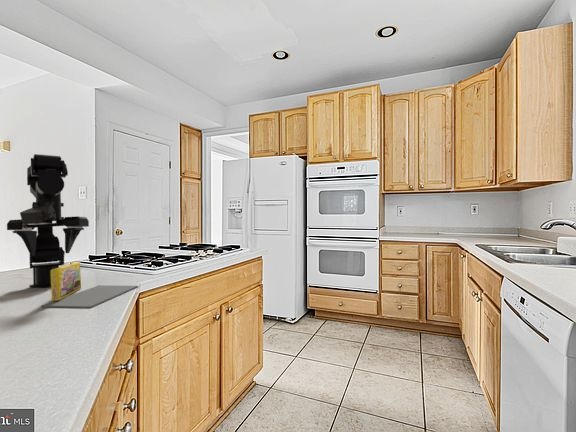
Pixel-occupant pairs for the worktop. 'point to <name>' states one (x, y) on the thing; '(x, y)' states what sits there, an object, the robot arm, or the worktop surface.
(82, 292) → the mat
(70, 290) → the candy box
